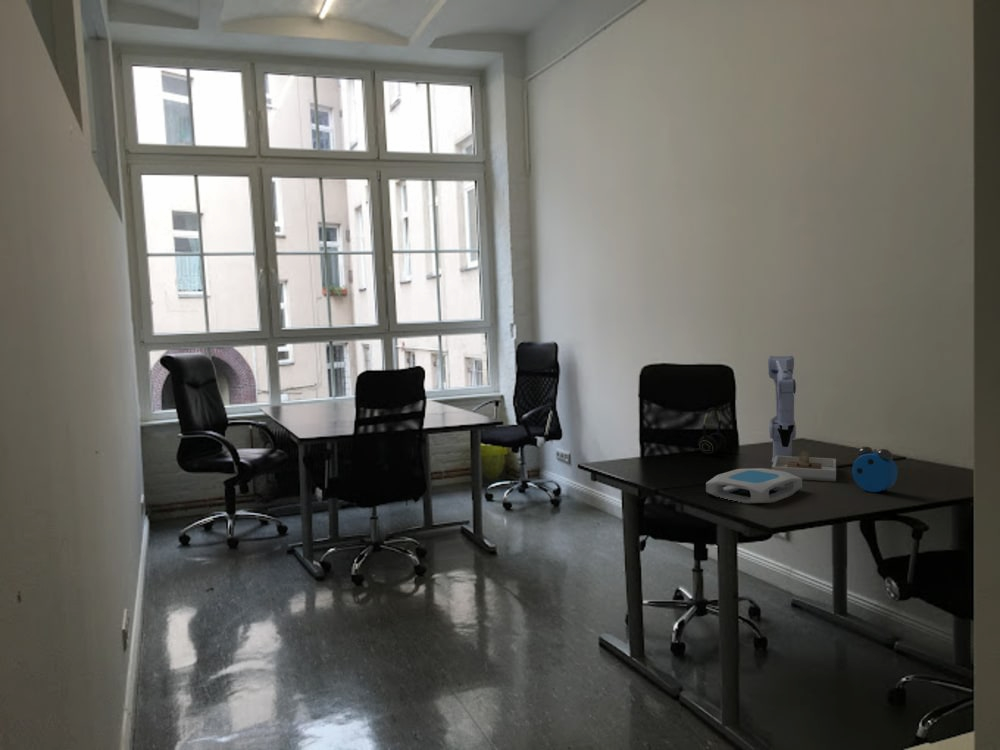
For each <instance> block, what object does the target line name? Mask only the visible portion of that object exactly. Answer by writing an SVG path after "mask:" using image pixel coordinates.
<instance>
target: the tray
mask: <svg viewBox="0 0 1000 750" xmlns="http://www.w3.org/2000/svg"><path fill="white" fill-rule="evenodd" d="M788 461H791V462H799V456H775V459H774V462H772V464H771V470H778V471H784V472H788V473H790V474H792V475H795V476H797V477H800V478H802V481H803V480H805V481H807V480H808V481H818V482H819V481H820V482H821V481H822V482H837V458H831V457H830V458H829V457H812V456H811V457H810V456H809V462H810V463H822V469H808V468H791V467H787V465H788Z"/></svg>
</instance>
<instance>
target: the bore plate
mask: <svg viewBox="0 0 1000 750" xmlns="http://www.w3.org/2000/svg"><path fill="white" fill-rule="evenodd" d="M787 467H791V468H808V469H822V463H810V462H809V467H799V462H791V461H788V465H787Z"/></svg>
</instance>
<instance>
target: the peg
mask: <svg viewBox="0 0 1000 750" xmlns="http://www.w3.org/2000/svg"><path fill="white" fill-rule="evenodd" d="M798 457H799V467H809V457H810V451H802V450H801V451H799V452H798Z"/></svg>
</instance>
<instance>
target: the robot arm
mask: <svg viewBox="0 0 1000 750" xmlns="http://www.w3.org/2000/svg"><path fill="white" fill-rule="evenodd" d="M767 368H768V376H769V378H770V379H772V380H773V383H774V386H775V387H774V391H775V412H776V413H775V416H773V417H772V418H770V421H769V426H768V427H769V428H768V429H769V438H770V439H772V458H771V461H770V462H771V463H773V462H774V459H775V456H792V453H793V450H792V448H793V444H792V443H793V440H794V439H795V438H796V436H797V428H796V421H795V395H796V392H797V391H796V390H797V384H796V383H797V382H796V380H795V378H793V375H794V370H795V369H794V368H795V358H794V357H793V355H790V356H789V355H776V356H775V355H769V356H768V358H767ZM792 457H793V456H792Z"/></svg>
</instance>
